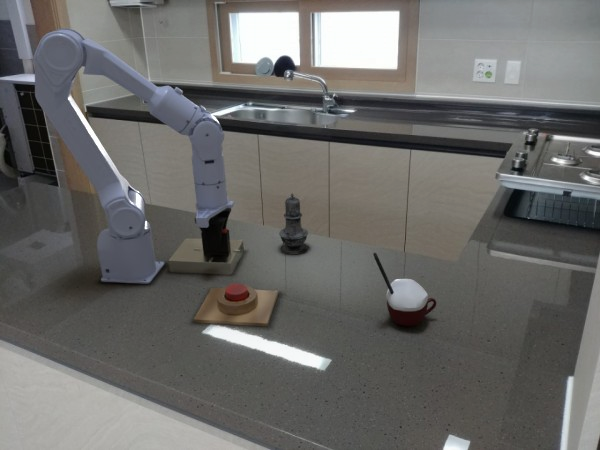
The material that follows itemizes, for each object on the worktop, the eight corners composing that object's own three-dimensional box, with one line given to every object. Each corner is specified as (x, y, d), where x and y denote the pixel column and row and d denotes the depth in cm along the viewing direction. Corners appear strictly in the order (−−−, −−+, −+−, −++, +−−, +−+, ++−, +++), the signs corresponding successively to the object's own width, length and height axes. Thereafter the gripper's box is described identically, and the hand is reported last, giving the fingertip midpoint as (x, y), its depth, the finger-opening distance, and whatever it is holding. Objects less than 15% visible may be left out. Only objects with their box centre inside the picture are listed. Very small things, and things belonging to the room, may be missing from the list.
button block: (193, 322, 86) (192, 309, 85) (211, 290, 95) (210, 278, 94) (267, 327, 84) (266, 313, 83) (278, 294, 93) (278, 281, 92)
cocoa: (436, 314, 86) (441, 246, 81) (431, 336, 80) (437, 265, 76) (377, 305, 89) (379, 239, 84) (369, 325, 83) (371, 257, 79)
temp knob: (203, 251, 103) (200, 231, 102) (205, 247, 105) (203, 227, 103) (228, 252, 103) (226, 232, 101) (230, 248, 104) (228, 228, 103)
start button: (223, 302, 87) (222, 294, 86) (229, 291, 90) (228, 282, 90) (245, 303, 87) (244, 295, 86) (250, 292, 90) (249, 283, 89)
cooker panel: (169, 272, 101) (168, 259, 100) (187, 249, 110) (185, 237, 109) (234, 275, 100) (233, 262, 99) (246, 251, 109) (246, 239, 108)
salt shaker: (305, 256, 106) (304, 199, 101) (276, 254, 107) (273, 197, 102) (310, 243, 111) (309, 188, 107) (283, 241, 112) (281, 187, 108)
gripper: (221, 194, 91) (227, 265, 96) (240, 168, 104) (245, 232, 110) (181, 193, 92) (189, 263, 97) (204, 168, 105) (211, 231, 111)
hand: (216, 247), depth 104 cm, fingers closed on temp knob, 2 cm apart
